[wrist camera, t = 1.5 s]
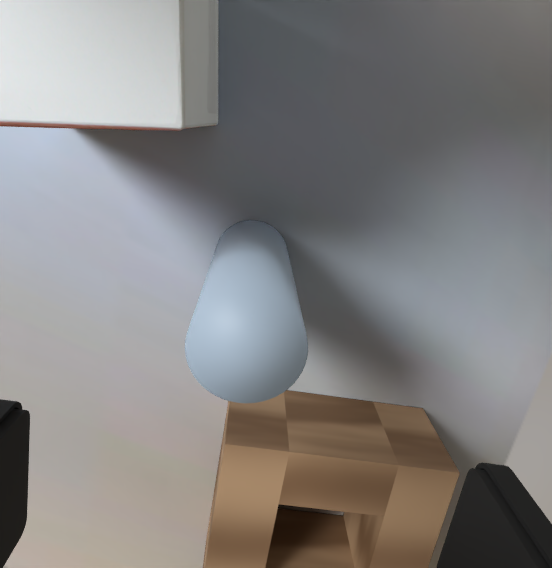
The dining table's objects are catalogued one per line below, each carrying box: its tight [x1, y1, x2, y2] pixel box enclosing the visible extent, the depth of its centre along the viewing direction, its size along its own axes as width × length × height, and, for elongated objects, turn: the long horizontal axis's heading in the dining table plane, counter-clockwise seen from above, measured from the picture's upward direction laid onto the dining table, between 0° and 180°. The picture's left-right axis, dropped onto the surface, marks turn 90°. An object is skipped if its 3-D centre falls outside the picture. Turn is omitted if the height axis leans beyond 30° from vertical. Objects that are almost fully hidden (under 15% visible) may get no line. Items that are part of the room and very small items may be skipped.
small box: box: [0, 0, 219, 131], centre depth 18 cm, size 8×6×13 cm
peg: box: [185, 220, 308, 403], centre depth 22 cm, size 4×4×12 cm
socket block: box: [203, 390, 460, 568], centre depth 29 cm, size 12×12×6 cm
